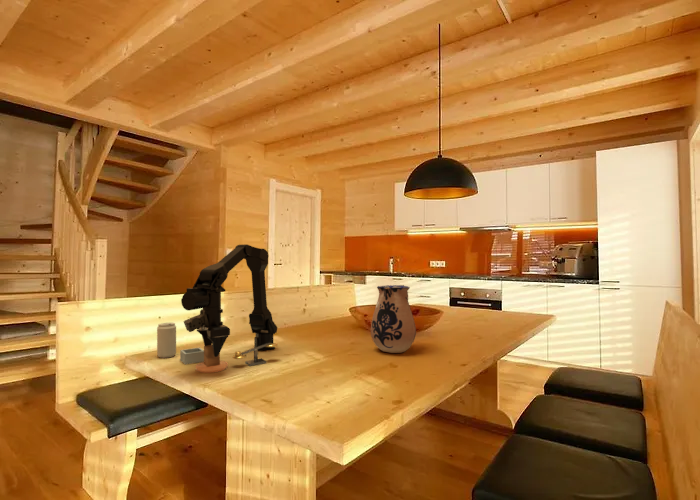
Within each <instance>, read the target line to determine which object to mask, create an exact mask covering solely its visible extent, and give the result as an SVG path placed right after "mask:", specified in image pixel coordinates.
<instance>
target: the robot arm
mask: <svg viewBox="0 0 700 500" xmlns="http://www.w3.org/2000/svg"><path fill="white" fill-rule="evenodd" d="M269 256H270V255H269V251H267V249H266V248H260V247H259V248H258V247H255V246H252V245H250V244H237V245H236V246H235V247H234V248H233V249H232V250H231V251H229V253H228V254H226V255H225V256H224V257H222V258H221V259H220V260H219V261H218V262H217V263H213V264H209V265H208V266H206V267H204V268H202V269H201V270H200V272H199V275H198V277H197V279H196V281H195V283H194V284H193V286H192V287H187V288H186V291H185V293H183V295H182V298H181V306H182V307H183V309H184V310H185V311H193V310H198V309H199V314H197V315H195V316H192V317H190V318H188V319H185V320H184V321H183V324H184V327H185V329H186V331H188V333H192V332H194V331H196V332H197V333H198V334H200V335H201V337H202V341H203V345H204V346H208V345H212V346H213V352H214V357H218V355H219V353H220V354H221V350H222V348H223V347H224V344H225V342H226V341H227V338H229V336H230V335H231V329H230V327H228V326H227V325H225V324H224V322H223V321H222V313H223V312H224V311H223V310H224V309H222V293H223V292H226V289H225V288H224V287H223V286H222V285H223V284H224V283H225V281H226V280H227V279H228V274H229V273H230V271H232V270H233V269H234V268H236V266H238V264H239V263H240V262H242V261H243V260H245V263H246V266H247V268H248V269H249V270H250V272H251V283H252V284H251V286H252V287H251V288H252V299H253V300H252V301H253V310H252V311H251V312H250V313H249V314H248V321H249V322H248V325H250V329H251V333H252V334H255V336H254V340H253V341H254V344H253V345H254V346H253V348H255V347H258V346H261V345H263V344H266V343H274V335H275V334H277V332H278V326H277V325H276V324H275V321H274V320H273V316H272V315H273V314H272V312H271V311H270V309H269V308H268V304H267V301H268V300H267V289H266V275H265V274H266V272H265V271H266V269H267V267H268V265H269ZM274 349H276V347H266V346H265V347H262V348H259V349H258V351H260V352H261V351H269V350H274Z"/></svg>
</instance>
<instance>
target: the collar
mask: <svg viewBox="0 0 700 500" xmlns="http://www.w3.org/2000/svg"><path fill="white" fill-rule="evenodd" d="M179 353H180V357H179V361H180V362H182V363H183V364H184V365H191V364H199V363H201V362H204V349H203V348H201V347H192V348H186V349H185V348H184V349H180V352H179Z"/></svg>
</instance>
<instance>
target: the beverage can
mask: <svg viewBox="0 0 700 500" xmlns="http://www.w3.org/2000/svg"><path fill="white" fill-rule="evenodd" d="M156 334H157V335H156V341H157V342H156V348H157V349H156V356H157V357H159V358H160V359H161V358H162V359H167V358H168V359H169V358H173V357H174V356H175V355H176V354H177V326H176V323H175V322H161V323H158V326H157V328H156Z"/></svg>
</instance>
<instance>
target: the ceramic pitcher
mask: <svg viewBox="0 0 700 500" xmlns="http://www.w3.org/2000/svg"><path fill="white" fill-rule="evenodd" d="M376 288H377V291H378V298H377V301H376V304H375V308H374V311H373V314H372V319H371V323H370V335H371V339H372V342H373V343H374V345H375V346H376V347H377V348H378V349H379V350H380V351H381V352H384V353H390V354H400V353H405V352H406V351H407V350H409V349H410V348H411V346H412V345H413V343H414V341H415V340H416V335H417V328H416V323H415V318H414V316H413V315H414V314H413V312H412V310H411V305H410V302H409V290H410V288H411V287H410V286H407V285H404V284H403V285H397V284H396V285H394V284H393V285H391V284H390V285H388V284H387V285H378V286H377V287H376Z"/></svg>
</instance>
